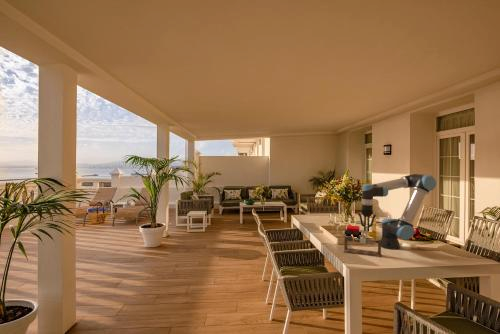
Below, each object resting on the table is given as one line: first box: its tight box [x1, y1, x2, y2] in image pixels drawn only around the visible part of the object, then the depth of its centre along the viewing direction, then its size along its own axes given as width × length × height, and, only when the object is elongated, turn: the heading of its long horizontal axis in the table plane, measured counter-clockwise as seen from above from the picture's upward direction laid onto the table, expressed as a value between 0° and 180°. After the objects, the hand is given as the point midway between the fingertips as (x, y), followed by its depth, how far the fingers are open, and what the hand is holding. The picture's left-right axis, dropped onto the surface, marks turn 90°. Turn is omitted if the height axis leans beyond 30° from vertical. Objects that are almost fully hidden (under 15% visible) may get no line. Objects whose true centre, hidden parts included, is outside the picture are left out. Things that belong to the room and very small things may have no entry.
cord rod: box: [347, 236, 378, 244], centre depth 226 cm, size 24×3×3 cm, turn 67°
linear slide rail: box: [343, 235, 382, 258], centre depth 226 cm, size 26×8×12 cm, turn 67°
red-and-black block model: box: [344, 224, 362, 239], centre depth 271 cm, size 15×8×25 cm
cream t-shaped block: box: [359, 229, 367, 245], centre depth 226 cm, size 4×4×10 cm
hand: (366, 235), depth 225 cm, fingers closed
